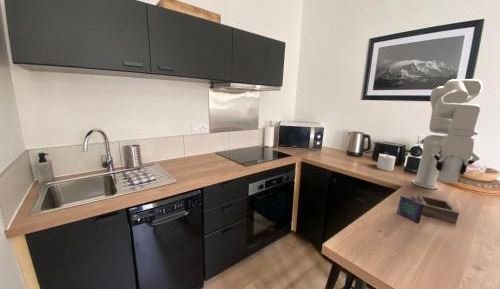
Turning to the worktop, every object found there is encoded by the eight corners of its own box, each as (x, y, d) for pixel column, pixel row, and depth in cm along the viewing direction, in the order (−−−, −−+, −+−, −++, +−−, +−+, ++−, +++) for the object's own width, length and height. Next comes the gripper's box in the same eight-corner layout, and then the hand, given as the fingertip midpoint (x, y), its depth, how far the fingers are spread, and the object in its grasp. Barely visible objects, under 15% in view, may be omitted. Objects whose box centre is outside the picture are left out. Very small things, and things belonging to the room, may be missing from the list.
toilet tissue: (389, 172, 152) (392, 158, 150) (372, 167, 162) (374, 154, 159) (395, 169, 158) (398, 156, 156) (378, 164, 168) (380, 152, 165)
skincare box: (447, 179, 98) (454, 154, 95) (457, 183, 94) (465, 157, 91) (435, 179, 97) (442, 154, 95) (445, 183, 93) (453, 157, 90)
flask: (395, 212, 96) (400, 191, 94) (399, 211, 97) (404, 190, 95) (417, 224, 88) (423, 201, 86) (421, 222, 89) (427, 200, 87)
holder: (415, 203, 106) (417, 194, 105) (446, 210, 100) (448, 201, 99) (421, 215, 95) (423, 205, 94) (455, 223, 90) (459, 213, 89)
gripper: (483, 134, 90) (471, 173, 94) (432, 129, 98) (423, 165, 101) (493, 137, 84) (479, 178, 87) (437, 131, 91) (427, 170, 95)
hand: (449, 171), depth 94 cm, fingers closed on skincare box, 7 cm apart
